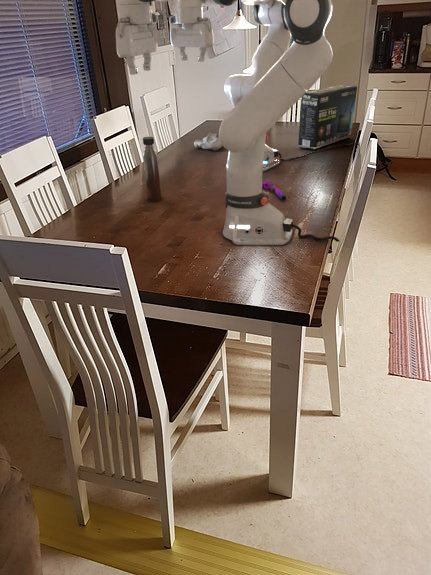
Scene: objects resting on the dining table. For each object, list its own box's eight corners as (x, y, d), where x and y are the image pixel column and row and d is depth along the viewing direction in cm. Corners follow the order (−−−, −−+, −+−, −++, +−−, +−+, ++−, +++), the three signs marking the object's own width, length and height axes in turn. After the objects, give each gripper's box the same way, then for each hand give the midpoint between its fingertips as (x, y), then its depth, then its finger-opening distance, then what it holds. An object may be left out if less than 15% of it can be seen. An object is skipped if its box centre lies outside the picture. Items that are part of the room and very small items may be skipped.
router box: (314, 151, 231) (318, 94, 217) (296, 148, 237) (299, 92, 224) (352, 138, 251) (358, 85, 238) (335, 135, 258) (340, 83, 245)
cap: (149, 145, 167) (148, 139, 166) (141, 144, 169) (140, 138, 168) (156, 143, 170) (155, 137, 169) (147, 142, 172) (147, 136, 170)
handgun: (253, 185, 189) (253, 181, 188) (271, 183, 190) (271, 179, 189) (267, 202, 172) (267, 197, 171) (287, 200, 173) (287, 195, 172)
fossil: (217, 145, 233) (197, 126, 236) (207, 162, 240) (188, 144, 243) (235, 143, 247) (216, 125, 250) (225, 159, 253) (207, 142, 257)
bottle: (155, 202, 177) (149, 141, 165) (145, 200, 180) (137, 139, 168) (164, 198, 181) (158, 138, 169) (153, 195, 183) (147, 136, 171)
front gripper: (128, 17, 116) (135, 76, 124) (159, 15, 133) (163, 68, 140) (106, 18, 118) (114, 76, 125) (139, 16, 135) (144, 68, 142)
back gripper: (217, 16, 158) (218, 61, 165) (179, 17, 171) (181, 59, 178) (203, 17, 154) (205, 62, 162) (165, 18, 167) (169, 60, 175)
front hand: (140, 72), depth 133 cm, fingers open, 8 cm apart
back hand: (192, 60), depth 170 cm, fingers open, 8 cm apart
